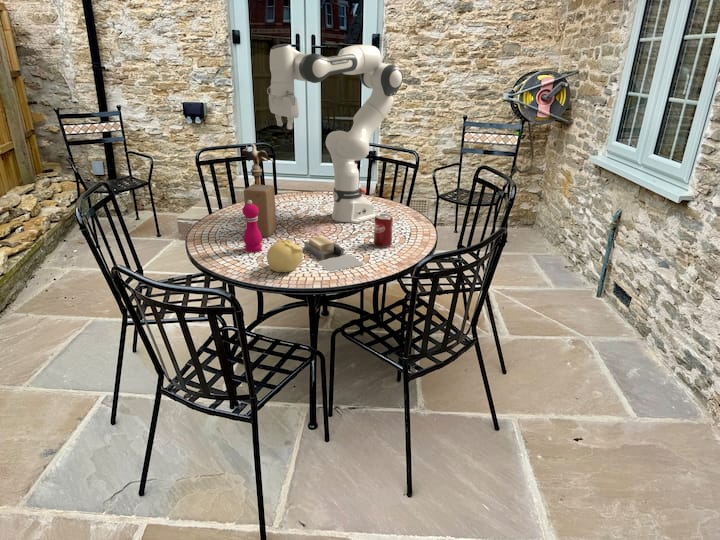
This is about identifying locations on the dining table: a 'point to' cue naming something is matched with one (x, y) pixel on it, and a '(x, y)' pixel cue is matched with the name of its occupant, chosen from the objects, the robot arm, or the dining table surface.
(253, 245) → the pepper mill
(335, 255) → the metal chute
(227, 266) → the dining table surface
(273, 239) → the dining table surface
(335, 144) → the robot arm
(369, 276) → the dining table surface
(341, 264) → the slate mat
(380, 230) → the soda can
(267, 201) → the wooden block
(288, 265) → the sculpture
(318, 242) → the birch block
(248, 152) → the bird statue
